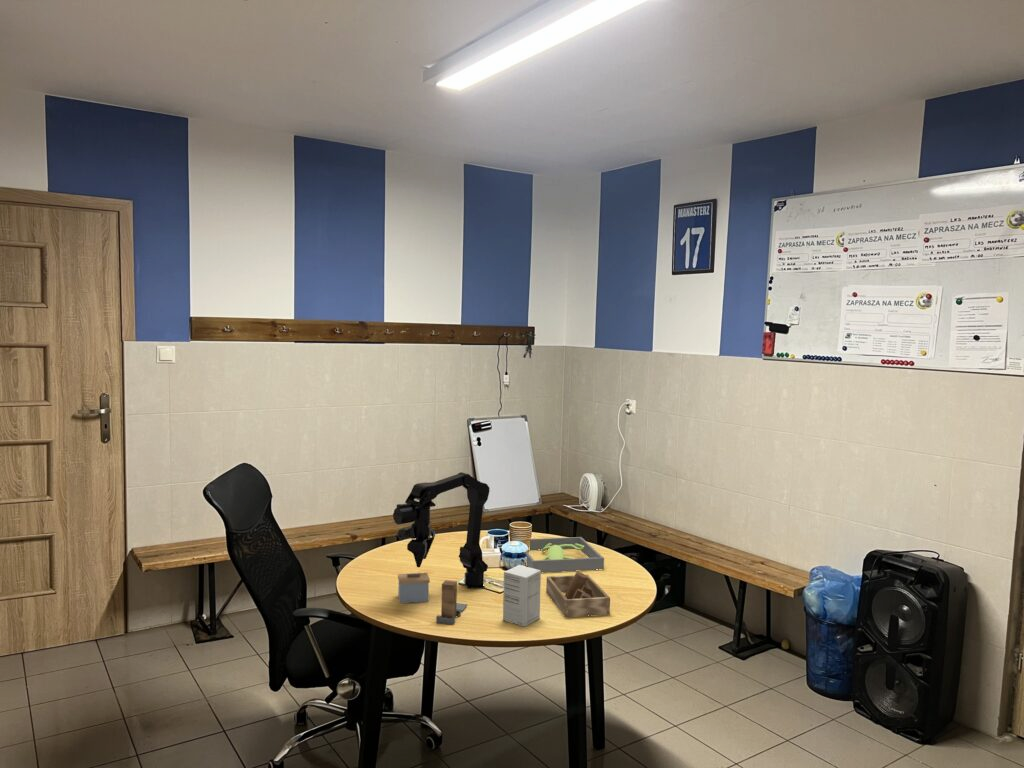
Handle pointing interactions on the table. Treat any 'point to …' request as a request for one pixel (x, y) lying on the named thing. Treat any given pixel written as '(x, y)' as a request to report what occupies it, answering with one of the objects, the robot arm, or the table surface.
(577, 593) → the wooden block set
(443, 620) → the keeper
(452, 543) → the table surface
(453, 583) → the brown block
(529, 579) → the supplement box
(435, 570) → the table surface
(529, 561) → the tray
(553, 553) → the figurine
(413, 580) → the toolbox
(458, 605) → the pad
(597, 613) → the block corral
